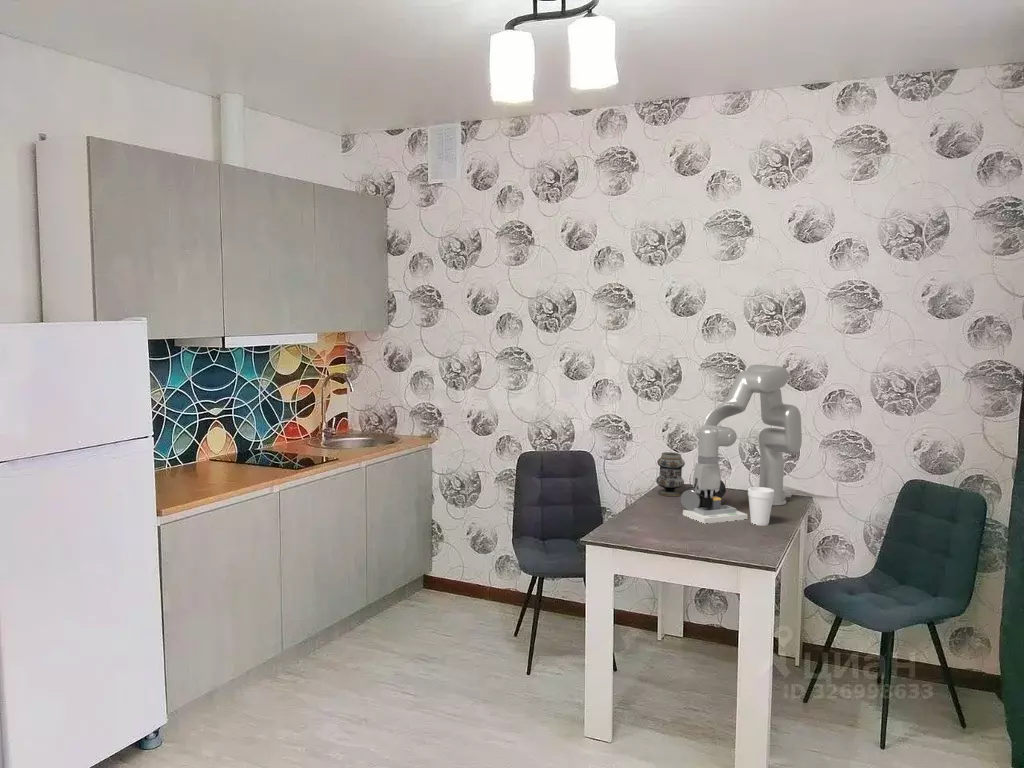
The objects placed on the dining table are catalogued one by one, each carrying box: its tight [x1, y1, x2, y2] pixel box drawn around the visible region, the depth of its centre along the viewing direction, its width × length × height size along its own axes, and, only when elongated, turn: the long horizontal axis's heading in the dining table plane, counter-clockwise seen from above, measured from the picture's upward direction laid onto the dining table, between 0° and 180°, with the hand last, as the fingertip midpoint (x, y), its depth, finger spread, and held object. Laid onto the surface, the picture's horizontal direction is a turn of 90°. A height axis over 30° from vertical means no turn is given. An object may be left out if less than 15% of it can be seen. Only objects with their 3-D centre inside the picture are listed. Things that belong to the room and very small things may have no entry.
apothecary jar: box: [655, 451, 686, 497], centre depth 351 cm, size 12×12×18 cm
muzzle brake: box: [680, 479, 727, 511], centre depth 324 cm, size 10×28×10 cm, turn 146°
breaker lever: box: [709, 496, 722, 510], centre depth 311 cm, size 3×3×6 cm
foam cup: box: [747, 486, 774, 526], centre depth 303 cm, size 10×9×13 cm
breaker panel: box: [682, 504, 749, 525], centre depth 312 cm, size 20×14×4 cm
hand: (706, 507), depth 310 cm, fingers closed
